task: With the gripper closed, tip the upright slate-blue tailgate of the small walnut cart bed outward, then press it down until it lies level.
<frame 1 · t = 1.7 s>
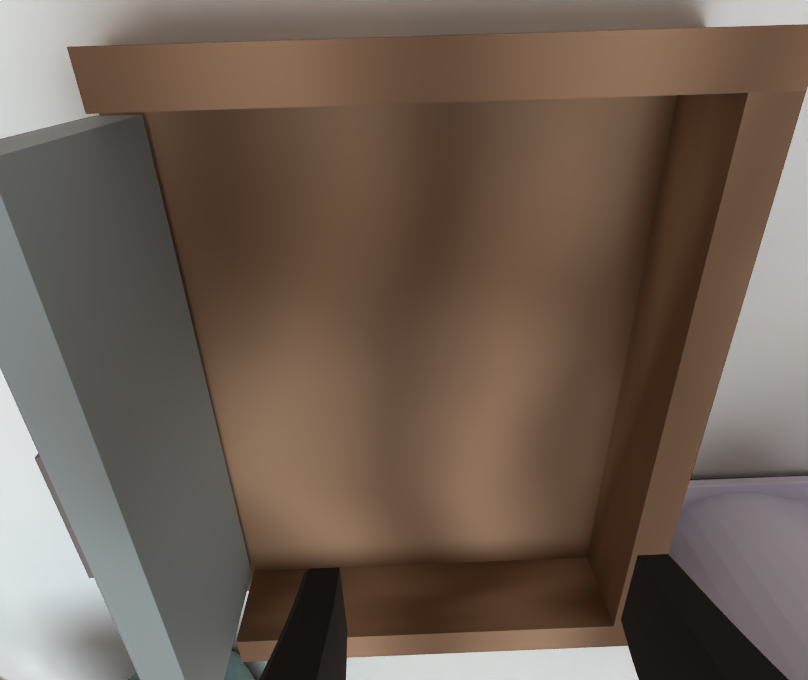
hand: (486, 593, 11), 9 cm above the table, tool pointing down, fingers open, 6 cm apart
tailgate: (141, 459, 15), point 5 cm above the table, hinge at 0.0°
flower pot: (212, 677, 29), on the table
cart bed: (416, 360, 19), on the table
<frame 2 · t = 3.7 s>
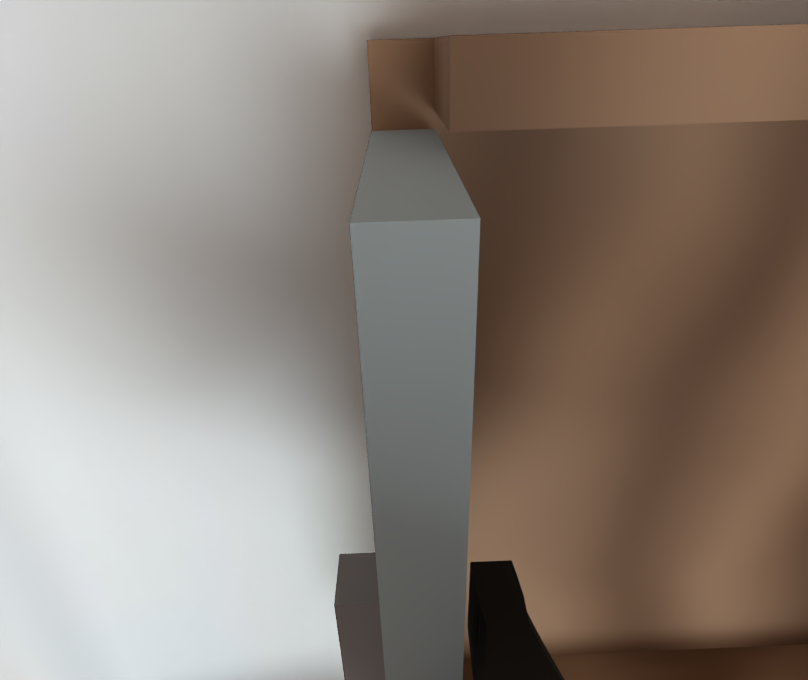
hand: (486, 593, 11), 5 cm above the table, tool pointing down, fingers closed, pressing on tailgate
tailgate: (398, 570, 12), point 5 cm above the table, hinge at 0.4°, touching gripper
cart bed: (662, 420, 16), on the table
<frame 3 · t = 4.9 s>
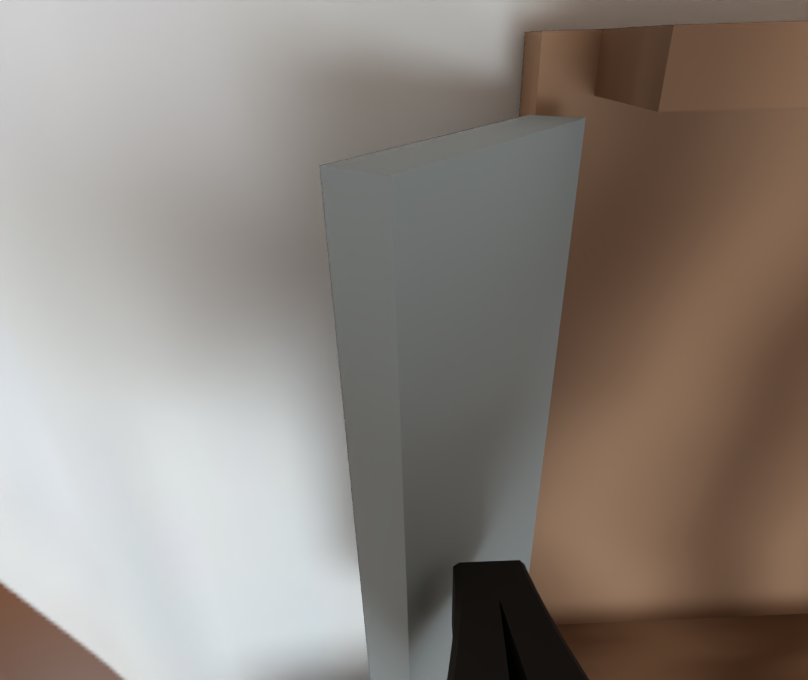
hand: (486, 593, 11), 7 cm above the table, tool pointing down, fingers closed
tailgate: (450, 508, 13), point 4 cm above the table, hinge at 39.5°
cart bed: (755, 394, 17), on the table
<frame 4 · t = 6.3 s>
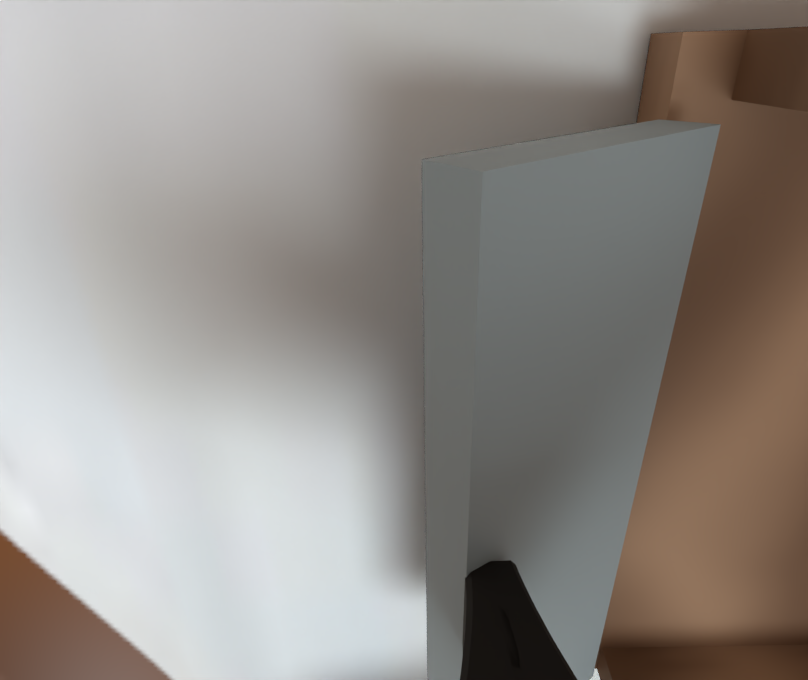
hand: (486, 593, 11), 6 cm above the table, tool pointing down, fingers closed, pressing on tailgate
tailgate: (528, 512, 13), point 4 cm above the table, hinge at 52.9°, touching gripper
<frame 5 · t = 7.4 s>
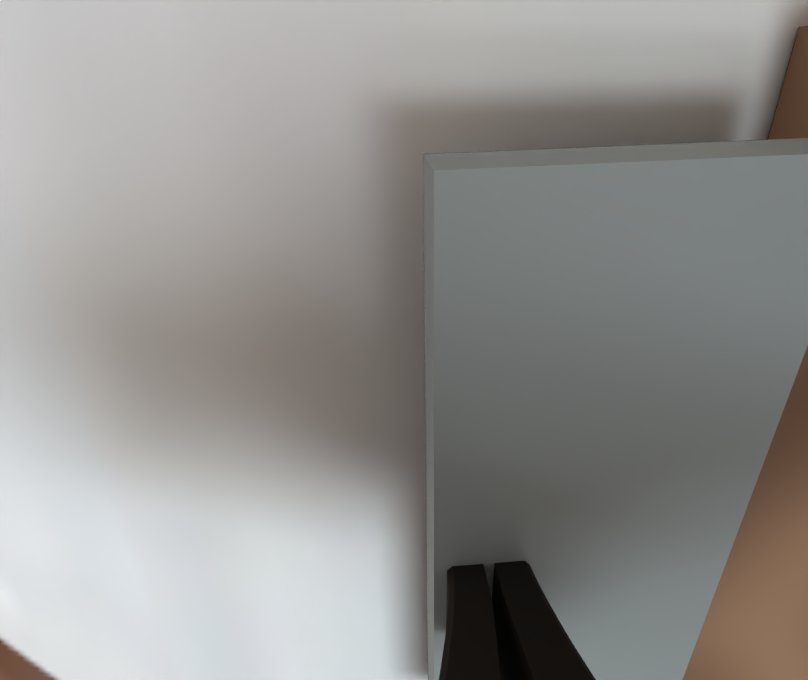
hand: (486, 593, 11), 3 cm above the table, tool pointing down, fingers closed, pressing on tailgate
tailgate: (563, 550, 12), point 2 cm above the table, hinge at 86.6°, touching gripper
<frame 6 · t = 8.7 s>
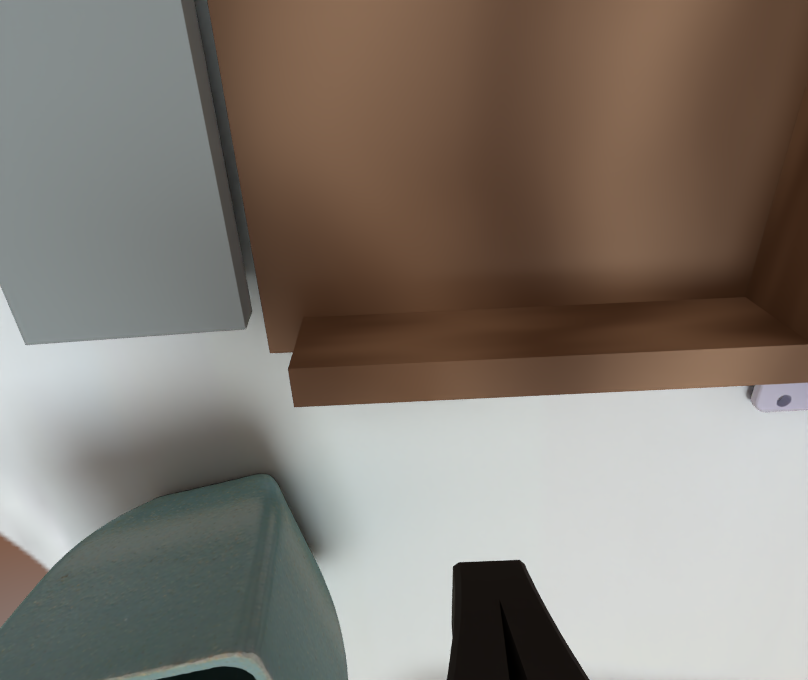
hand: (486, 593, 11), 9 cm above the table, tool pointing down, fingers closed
flower pot: (239, 520, 23), on the table
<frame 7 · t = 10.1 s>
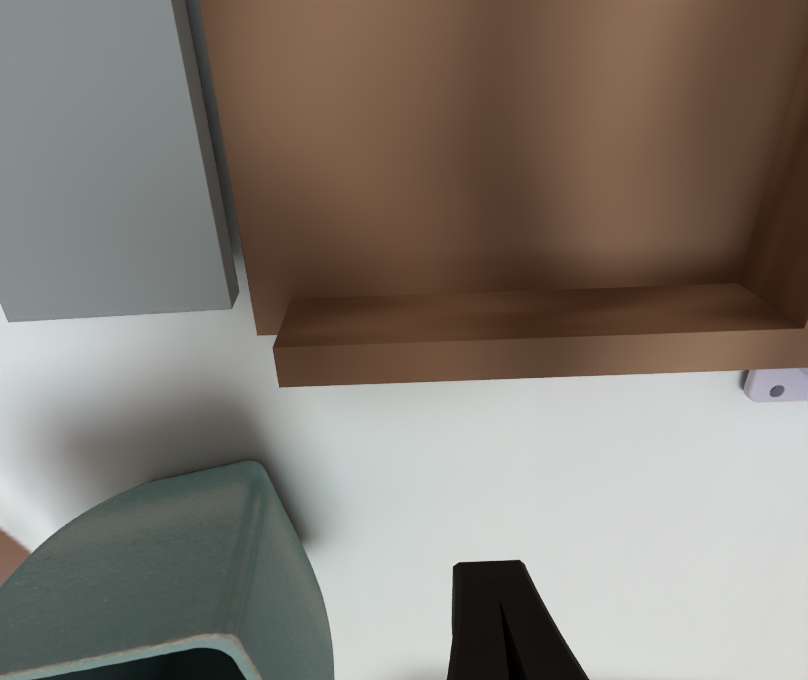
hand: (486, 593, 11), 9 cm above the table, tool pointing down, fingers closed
flower pot: (227, 507, 23), on the table
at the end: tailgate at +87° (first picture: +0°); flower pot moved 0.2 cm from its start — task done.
